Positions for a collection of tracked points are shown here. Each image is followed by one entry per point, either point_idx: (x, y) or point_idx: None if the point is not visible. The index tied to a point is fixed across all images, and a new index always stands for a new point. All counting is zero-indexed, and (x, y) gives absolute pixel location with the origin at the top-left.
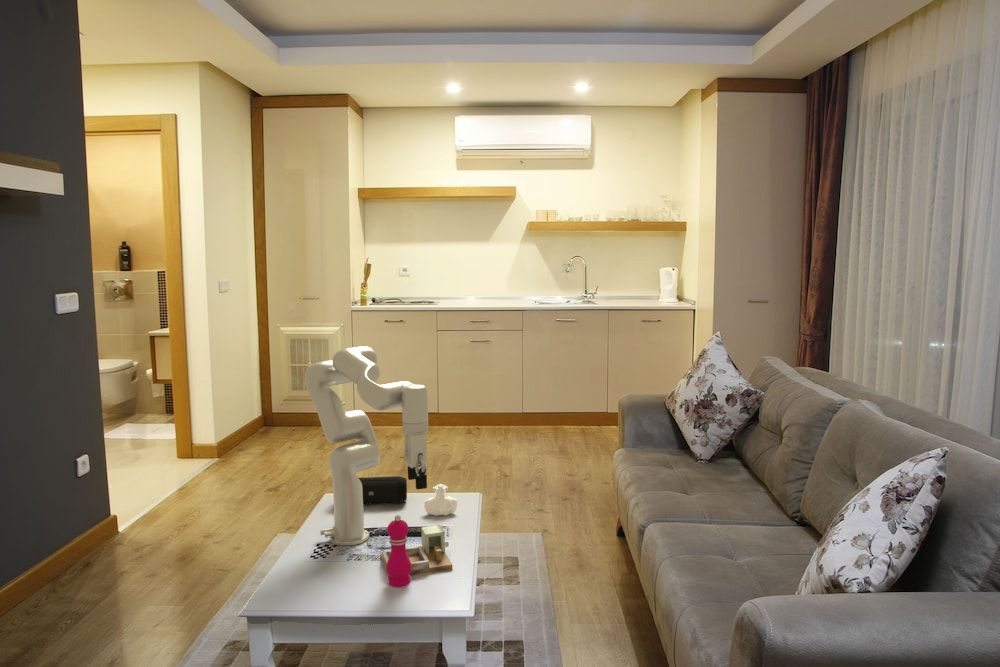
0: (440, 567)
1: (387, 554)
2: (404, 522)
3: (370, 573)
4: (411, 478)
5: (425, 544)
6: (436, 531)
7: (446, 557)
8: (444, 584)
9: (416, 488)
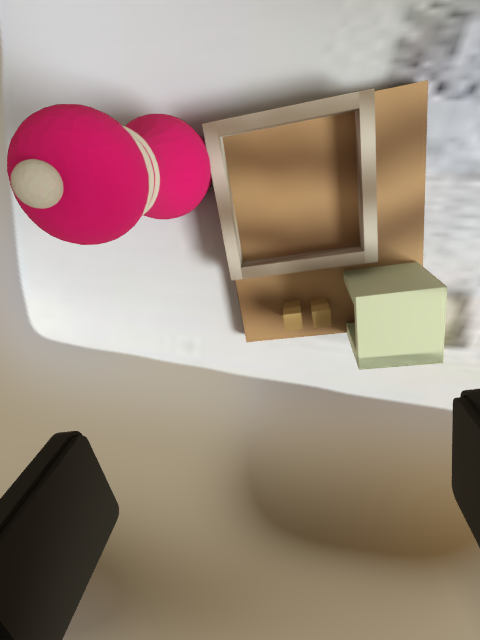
0: (241, 306)
1: (357, 116)
2: (57, 228)
3: (270, 44)
4: (458, 429)
5: (351, 281)
6: (373, 342)
7: (301, 332)
8: (156, 303)
9: (54, 437)
